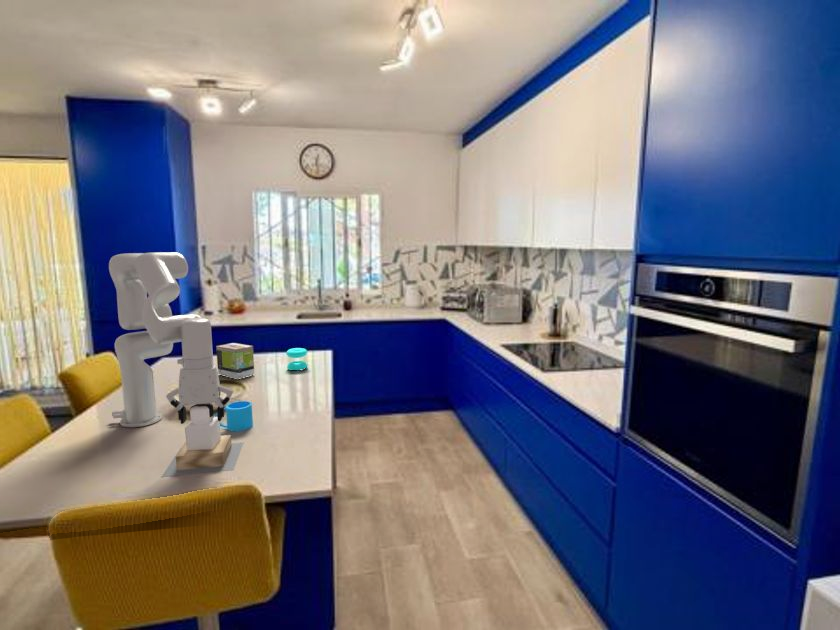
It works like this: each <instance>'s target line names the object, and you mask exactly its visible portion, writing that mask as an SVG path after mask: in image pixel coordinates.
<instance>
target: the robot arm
mask: <svg viewBox="0 0 840 630" xmlns="http://www.w3.org/2000/svg"><path fill="white" fill-rule="evenodd" d="M108 270H109V275H110V277H111V279H112V282H113V284H114V287H115V289H116V290H115V291H116V302H117V314H118V315H117V316H118V318H117V319H118V323H119V326H120V327H121V329H123V330H127V331H132V330H133V331H135V330H142V329H146V330H143V331H135V332H128V333H125V334H122V335H120V336H118V337H117V338H116V339H115V342H114V352H115V354H116V357H117V362H118V364H119V365H118V366H119V371H120V372H119V373H120V379H121V388H122V398H123V409H122V410H113V411H112V412H111V417H112V418H113V419H120V422H119V424H120V426H121V427H124V428H140V427H146V426H149V425H154V424H155V423H157V422H160V420H162V419H163V414H162V413H161V412H159V411H157V401H156V399H157V398H156V390H155V381H154V380H155V376H154V371H153V369H152V367H151V366H150V365H149V364H148V363H146V361H145V360H146V359H151V358H158V357H162V356H166V355H169V354H171V352H172V351H173V348H174V344H175V343H180V342H181V350H182V351H181V352H182V358H179V359H177V362H176V363H177V365H182V367H181V368H180V370H179V375H178V388H176V389H174V390H172V391H170V392H169V393H167V394H166V395H165V397H166V399H167V400H168V401H169V403H170V405H171V406H172V407H174V408H175V409H176V411H177V413H178V417H177V418H178V420H179V421H180V424H181V425H182V424H184V423H186V421H187V419H188V418H187V408H186V406H188V405H189V406H190V405H196V404H207V403H210V404H216V405H217V408H216V413H217V416H218V421H220V422H221V421H222V419H223V418H224V417H225V410H224V408H225V406H226V405H227V403H228V402H229V401H230V400H231V397H232V396H233V393H234V390H233V389H231V388H228V387H226V386H224V385H221V384H220V383H221V382H220V376H218V367H217V365H216V364H214V354H213V352H214V351H213V338H212V337H213V336H212V323H211V321H210V320H209V319H207V318H203V317H202V316H200V315H199V314H195V313H190V314H189V313H188V314H179V315H173V313H172V309H171V306H170V305H169V304H170V303H171V302H173V301H175V300H176V299H177V298H178V296H180V293H181V288H180V285H179V284H178V281H177V279H184V278H185V277H186V276H187V275H188V272H189V265H188V262H187V259H186V258H185V256H184V255H183V254H181V253H179V252H178V251H177V252H175V251H173V252H172V251H171V252H166V251H165V252H162V251H159V252H157V251H156V252H145V253H144V252H143V253H142V252H138V253H137V252H133V253H131V252H129V253H120V254H116V255H113V256H112V257H111V258H110V260H109V262H108ZM221 393H223V394H226V396H225V397H224V398H222V397H221ZM177 395H178V399H177V398H175V396H177ZM185 405H186V406H185Z"/></svg>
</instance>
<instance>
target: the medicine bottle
mask: <svg viewBox="0 0 840 630" xmlns="http://www.w3.org/2000/svg"><path fill="white" fill-rule="evenodd" d="M214 411H215V410H214V405H213V403H207V404H193V405H191V406H190V408H189V418H190V422H189V423H188V424H187V425H186V426H185V427H184V433H185V434H184V435H185V442H186V446H187V450H188V451H190V450H212V449H214V447H215V446H216V445H217V443H218V442H219V441H220V440H221V436H222V435H221V434H222V433H221V426H220V423H221V421H218V417H215V412H214Z"/></svg>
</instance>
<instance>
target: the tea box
mask: <svg viewBox="0 0 840 630" xmlns="http://www.w3.org/2000/svg"><path fill="white" fill-rule="evenodd" d="M215 347H216V361H217V362H216V363H217V365H216V367H217V372H218V374H221V375H225V376H228V377H232V378H236V379H239V378H243V377H246V376H250V375H253V374H254V375H255V362H254V361H255V358H254V346H253V345H249V344H244V343H243V344H242V343H237V342H231V343H226V344H220V345H216V346H215Z"/></svg>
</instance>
